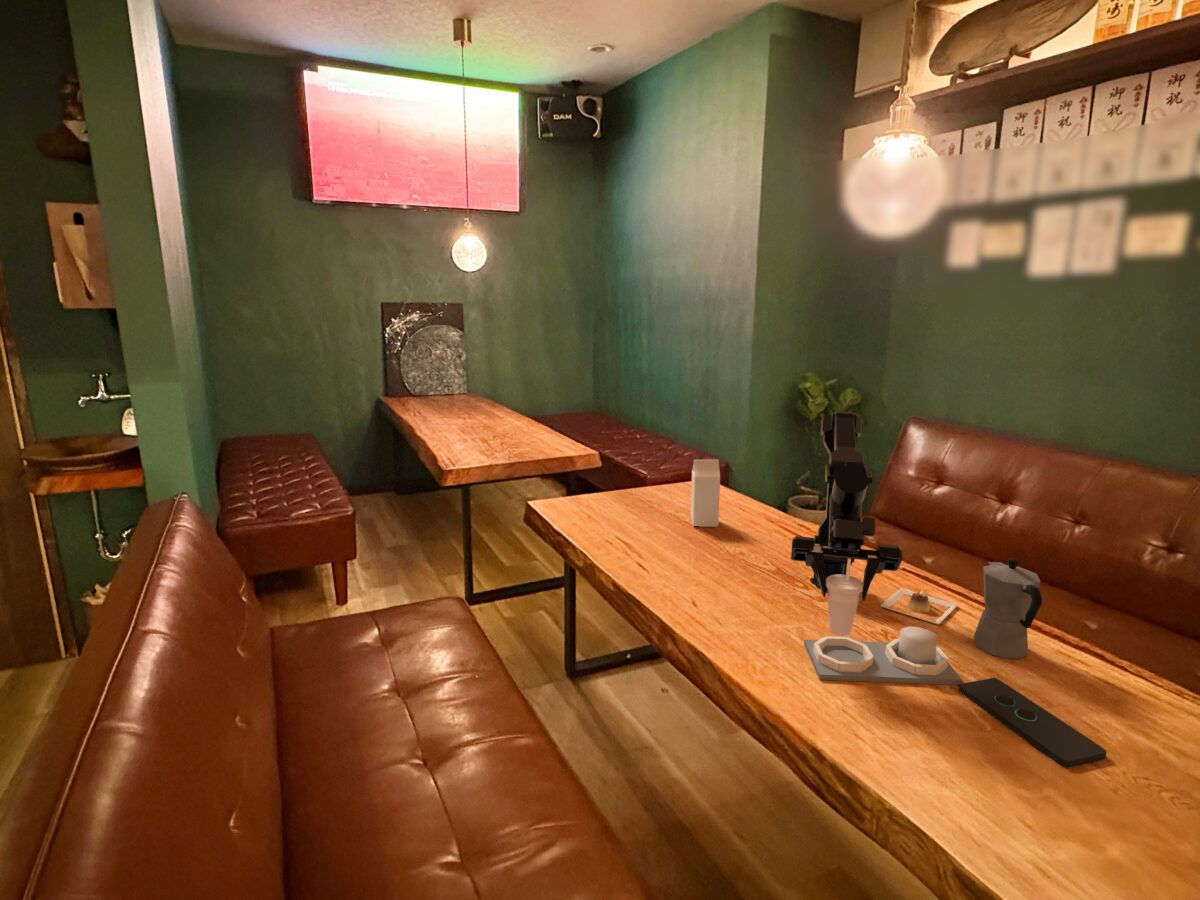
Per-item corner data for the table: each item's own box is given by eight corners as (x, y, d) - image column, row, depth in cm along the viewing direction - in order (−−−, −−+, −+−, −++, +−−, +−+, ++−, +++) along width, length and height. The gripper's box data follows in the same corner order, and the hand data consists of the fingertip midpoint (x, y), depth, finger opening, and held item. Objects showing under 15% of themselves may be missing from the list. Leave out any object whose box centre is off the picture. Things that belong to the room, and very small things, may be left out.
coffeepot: (957, 629, 134) (968, 545, 130) (1004, 629, 134) (1017, 545, 130) (1001, 672, 120) (1016, 578, 115) (1054, 672, 119) (1071, 578, 115)
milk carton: (718, 527, 192) (720, 463, 188) (693, 527, 192) (695, 463, 188) (714, 518, 199) (716, 456, 194) (690, 518, 199) (692, 456, 195)
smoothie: (866, 637, 119) (873, 564, 116) (833, 641, 118) (840, 567, 115) (846, 620, 126) (852, 550, 122) (814, 624, 124) (820, 553, 121)
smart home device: (996, 676, 116) (1110, 750, 97) (995, 685, 117) (1107, 761, 98) (957, 683, 114) (1065, 761, 95) (955, 692, 114) (1063, 771, 96)
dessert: (879, 610, 144) (881, 589, 143) (900, 592, 152) (902, 572, 151) (938, 629, 136) (941, 607, 134) (957, 609, 144) (960, 588, 143)
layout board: (819, 679, 117) (821, 648, 116) (804, 644, 129) (806, 615, 128) (961, 684, 116) (965, 653, 114) (932, 648, 127) (936, 619, 126)
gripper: (795, 494, 122) (790, 575, 115) (906, 503, 117) (909, 588, 110) (793, 520, 131) (788, 597, 124) (896, 530, 126) (897, 610, 119)
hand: (843, 598), depth 119 cm, fingers closed on smoothie, 6 cm apart
